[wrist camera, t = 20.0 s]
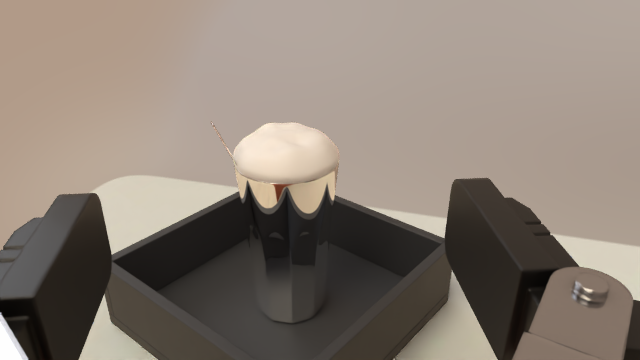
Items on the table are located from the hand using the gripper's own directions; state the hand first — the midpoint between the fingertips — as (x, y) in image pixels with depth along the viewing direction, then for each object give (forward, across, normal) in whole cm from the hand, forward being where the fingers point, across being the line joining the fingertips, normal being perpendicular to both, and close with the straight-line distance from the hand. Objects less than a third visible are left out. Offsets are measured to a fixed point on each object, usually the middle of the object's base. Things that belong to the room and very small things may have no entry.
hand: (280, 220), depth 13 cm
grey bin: (+11, 0, +12) cm, 16 cm away
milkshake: (+10, 0, +12) cm, 16 cm away
